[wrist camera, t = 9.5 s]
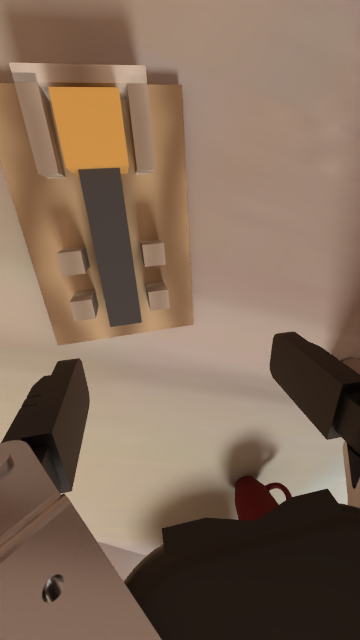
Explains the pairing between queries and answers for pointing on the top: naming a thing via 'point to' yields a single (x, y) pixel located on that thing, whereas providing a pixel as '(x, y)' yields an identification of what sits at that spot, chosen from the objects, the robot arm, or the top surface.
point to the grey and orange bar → (101, 187)
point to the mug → (255, 498)
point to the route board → (69, 206)
